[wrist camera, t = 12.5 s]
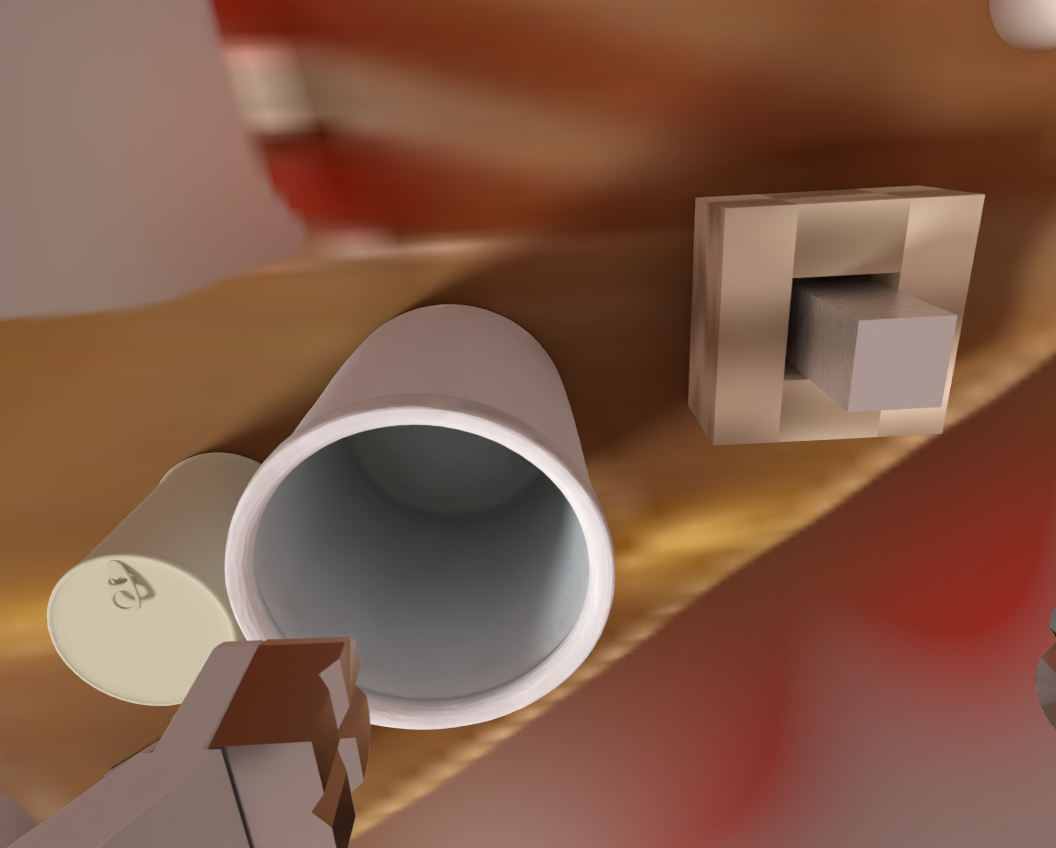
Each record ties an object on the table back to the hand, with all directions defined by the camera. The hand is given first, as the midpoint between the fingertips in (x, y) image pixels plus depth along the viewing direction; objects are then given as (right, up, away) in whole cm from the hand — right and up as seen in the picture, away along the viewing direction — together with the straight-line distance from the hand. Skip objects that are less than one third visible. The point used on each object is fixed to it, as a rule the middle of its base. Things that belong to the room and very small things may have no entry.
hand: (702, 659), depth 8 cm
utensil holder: (-6, +3, +35) cm, 36 cm away
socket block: (+13, +10, +33) cm, 37 cm away
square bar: (+13, +10, +33) cm, 37 cm away
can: (-21, -3, +37) cm, 43 cm away
